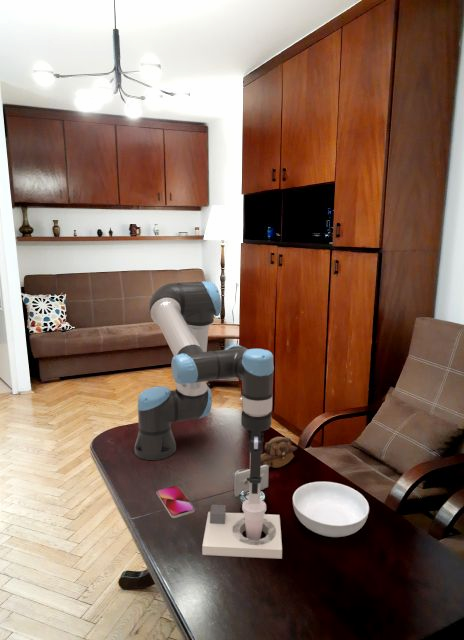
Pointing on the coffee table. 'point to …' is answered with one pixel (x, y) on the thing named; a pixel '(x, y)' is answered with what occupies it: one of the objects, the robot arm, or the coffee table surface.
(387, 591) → the coffee table surface
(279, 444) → the wooden carving
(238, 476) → the cassette
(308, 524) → the serving bowl
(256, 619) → the coffee table surface
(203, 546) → the dock plate
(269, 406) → the robot arm
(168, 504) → the smartphone
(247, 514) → the smoothie
